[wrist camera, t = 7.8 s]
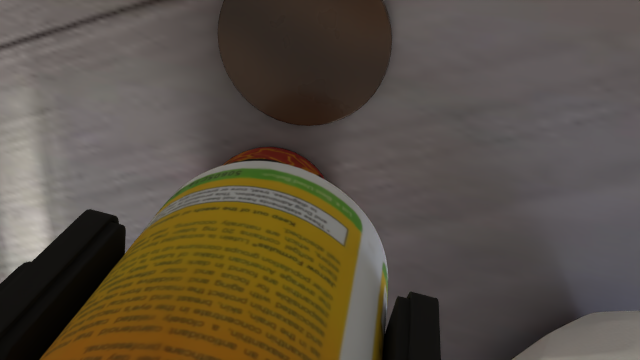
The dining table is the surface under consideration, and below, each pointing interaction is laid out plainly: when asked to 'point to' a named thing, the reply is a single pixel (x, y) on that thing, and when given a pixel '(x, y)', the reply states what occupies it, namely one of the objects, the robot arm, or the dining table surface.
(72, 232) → the robot arm
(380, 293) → the supplement bottle
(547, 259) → the dining table surface
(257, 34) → the coaster
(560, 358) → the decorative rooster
